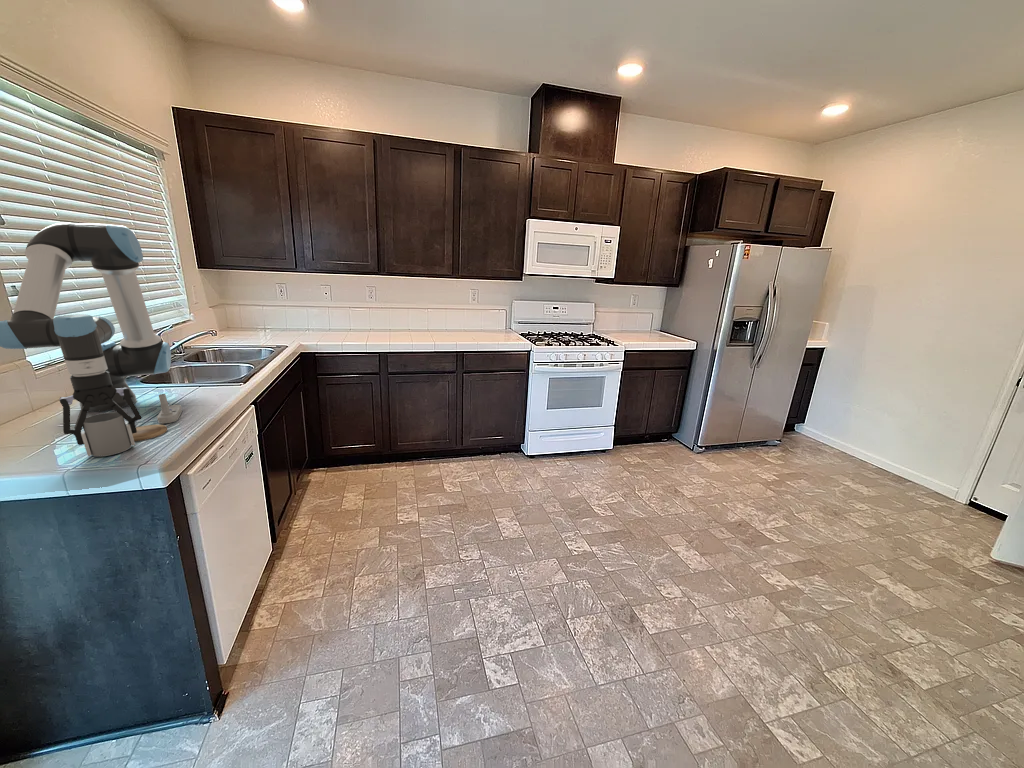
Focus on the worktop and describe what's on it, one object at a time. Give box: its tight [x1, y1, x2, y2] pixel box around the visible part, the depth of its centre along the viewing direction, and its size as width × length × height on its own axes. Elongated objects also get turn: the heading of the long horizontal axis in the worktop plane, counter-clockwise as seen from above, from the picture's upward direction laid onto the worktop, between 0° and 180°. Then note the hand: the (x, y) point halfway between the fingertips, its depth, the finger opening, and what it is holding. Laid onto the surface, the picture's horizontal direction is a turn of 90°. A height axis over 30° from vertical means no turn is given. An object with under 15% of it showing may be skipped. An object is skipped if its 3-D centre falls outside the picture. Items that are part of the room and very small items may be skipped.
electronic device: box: [156, 393, 183, 425], centre depth 142 cm, size 5×10×15 cm
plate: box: [132, 423, 168, 443], centre depth 129 cm, size 12×12×1 cm
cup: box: [82, 411, 132, 457], centre depth 116 cm, size 8×8×10 cm
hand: (111, 448), depth 117 cm, fingers closed on cup, 8 cm apart
